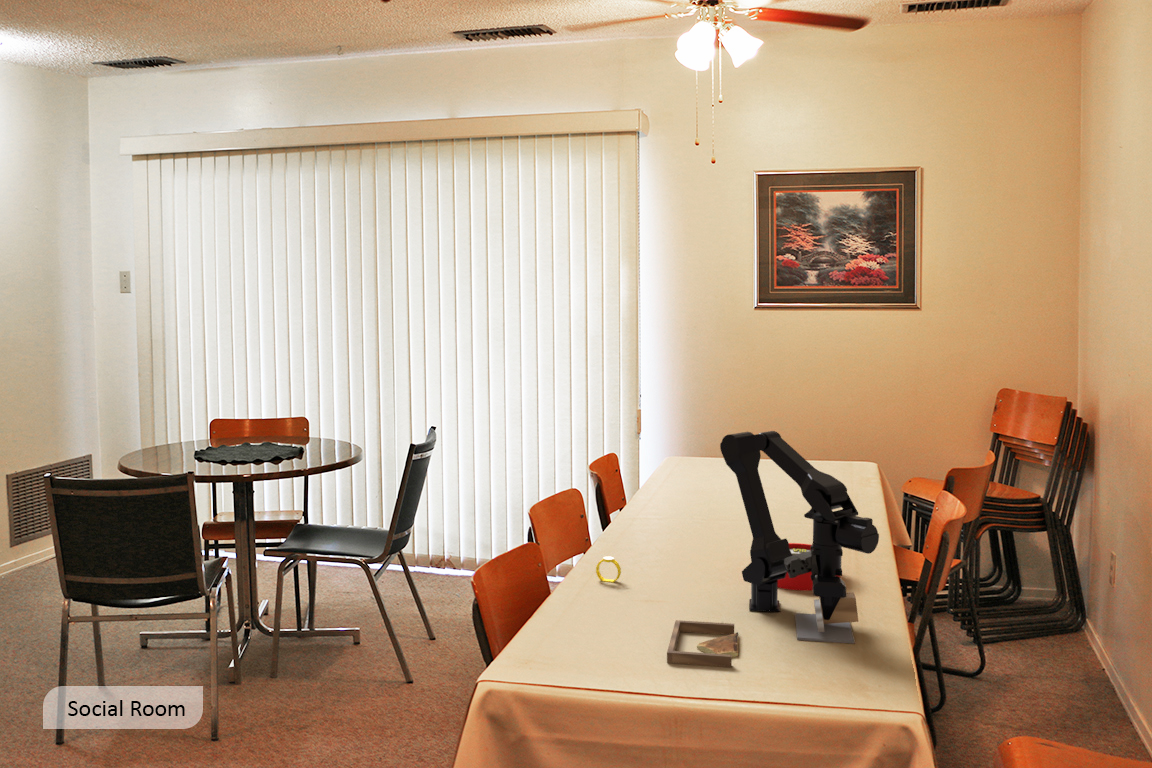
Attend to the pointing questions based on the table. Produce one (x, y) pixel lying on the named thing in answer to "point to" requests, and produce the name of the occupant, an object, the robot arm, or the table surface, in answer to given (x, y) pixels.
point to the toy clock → (800, 581)
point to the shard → (721, 645)
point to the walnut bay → (695, 657)
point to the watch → (608, 559)
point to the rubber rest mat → (833, 631)
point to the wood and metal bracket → (838, 611)
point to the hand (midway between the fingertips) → (826, 616)
